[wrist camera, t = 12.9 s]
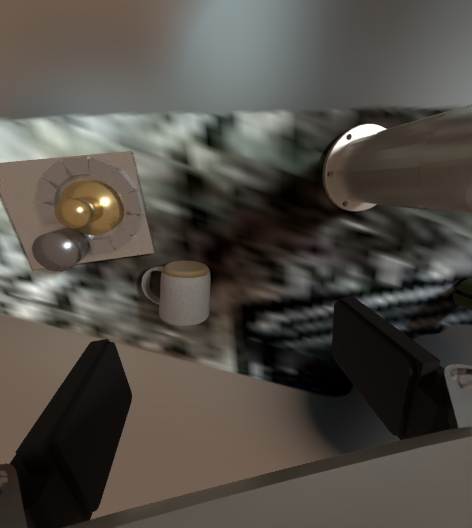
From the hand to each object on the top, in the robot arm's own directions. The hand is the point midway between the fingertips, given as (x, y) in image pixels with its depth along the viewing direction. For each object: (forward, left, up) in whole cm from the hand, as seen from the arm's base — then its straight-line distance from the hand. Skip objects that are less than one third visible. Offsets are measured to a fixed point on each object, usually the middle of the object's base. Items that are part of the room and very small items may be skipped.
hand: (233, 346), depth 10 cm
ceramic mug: (+6, +9, -29) cm, 30 cm away
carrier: (+17, -4, -28) cm, 33 cm away
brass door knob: (+15, -5, -27) cm, 31 cm away
